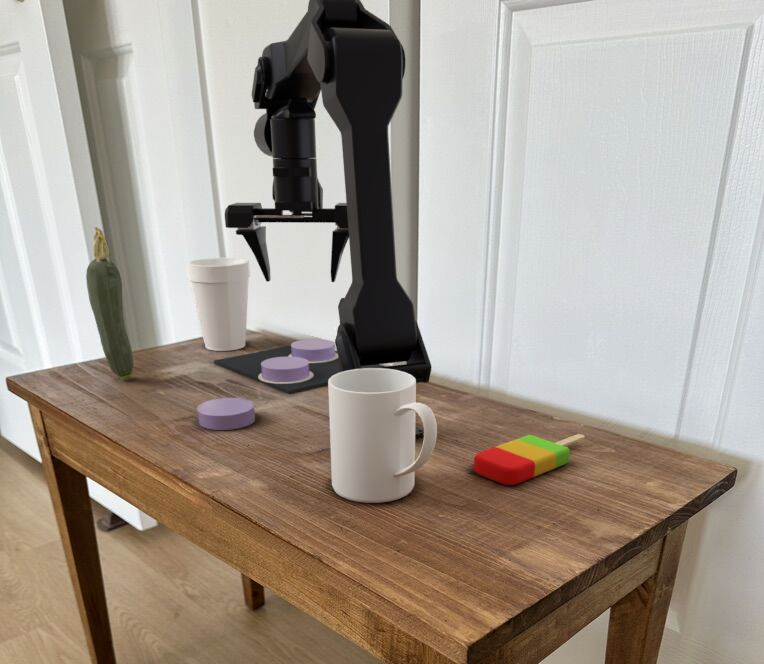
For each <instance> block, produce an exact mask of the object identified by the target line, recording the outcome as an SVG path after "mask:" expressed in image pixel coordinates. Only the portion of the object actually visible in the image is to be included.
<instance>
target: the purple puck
mask: <svg viewBox="0 0 764 664" xmlns="http://www.w3.org/2000/svg"><path fill="white" fill-rule="evenodd" d="M290 346H291V356H292V357H300V358H304V359H307V360H308V361H309V362H316V361H325V360H329V359H332V358H334V357H335V351H336V344H335V341H333V340H330V339H323V338H307V339H299V340H296V341H293V342H292V343H291V344H290Z"/></svg>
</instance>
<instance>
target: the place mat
mask: <svg viewBox="0 0 764 664" xmlns="http://www.w3.org/2000/svg"><path fill="white" fill-rule="evenodd" d="M275 357H292V356H291V345H287V346H280V347H275V348H271V349H265V350H261V351H255V352H251V353H250V352H249V353H245V354H240V355H235V356H230V357H224V358H220V359H215V360H213V363H214V364H216V365H218V366H221V367H223V368H226V369H227V370H230V371H233V372H235V373H238V374H240V375H242V376H245V377H247V378H250V379H252V380H255V381H257V382H259V383H261V384H265V385H267V386H270V387H272V388H275V389H277V390H280V391H281V392H285V393H287V394H294V393H298V392H301V391H306V390H310V389H315V388H319V387H323V386H328V381H329V379H330V378H331V377H332V376H333V375H335V374H337V373H340V365H339V358H338V352H337V350H335V357H334V358H332V359H329V360H325V361H316V362H309V371H310V375H309V377H307V378H305V379H303V380H299V381H293V382H273V381H268V380H265V379H263V378H262V373H261V362H263V361H264V360H267V359H270V358H275ZM378 367H386V366H385V365H382V364H378V365H369V366H361V369H363V368H378Z"/></svg>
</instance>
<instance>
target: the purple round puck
mask: <svg viewBox="0 0 764 664" xmlns="http://www.w3.org/2000/svg"><path fill="white" fill-rule="evenodd" d="M261 373H262V378H263V379H265V380H268V381H273V382H293V381H299V380H303V379H305V378H307V377H309V375H310V371H309V361H308V360H307V359H304V358H300V357H275V358H270V359H267V360H264V361H263V362H261Z"/></svg>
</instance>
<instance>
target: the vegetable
mask: <svg viewBox="0 0 764 664" xmlns="http://www.w3.org/2000/svg"><path fill="white" fill-rule="evenodd" d="M94 230H95V232H94V236H93V257H94V259H93V260H91V261H90V263H89V264H88V265H87V268H86V276H85V278H86V288H87V294H88V301H89V304H90V307H91V311H92V313H93V316H94V320H95V325H96V328H97V332H98V335H99V339H100V344H101V347H102V351H103V354H104V357H105V359H106V362H107V363H108V366H109V368H110V371H112V373H113V374H115V376H117V378H119V379H120V380H121V381H125V380H131V379H132V377H133V376H132V375H133V373H134V372H133V371H134V369H133V368H134V358H133V357H134V356H133V352H132V347H131V342H130V340H129V339H130V338H129V336H128V333H127V329H126V325H125V319H124V312H123V311H124V310H123V309H124V308H123V282H122V277H121V273H120V271H119V269H118V267H117V265H116V264H114V262H112V261H111V260H110V259H108V258H109V256H110V249H109V246H108V245H109V244H107V241H106V237H105V236H104V233H103V231H102V229H101V228H99V227H98V226H95V227H94Z"/></svg>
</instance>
